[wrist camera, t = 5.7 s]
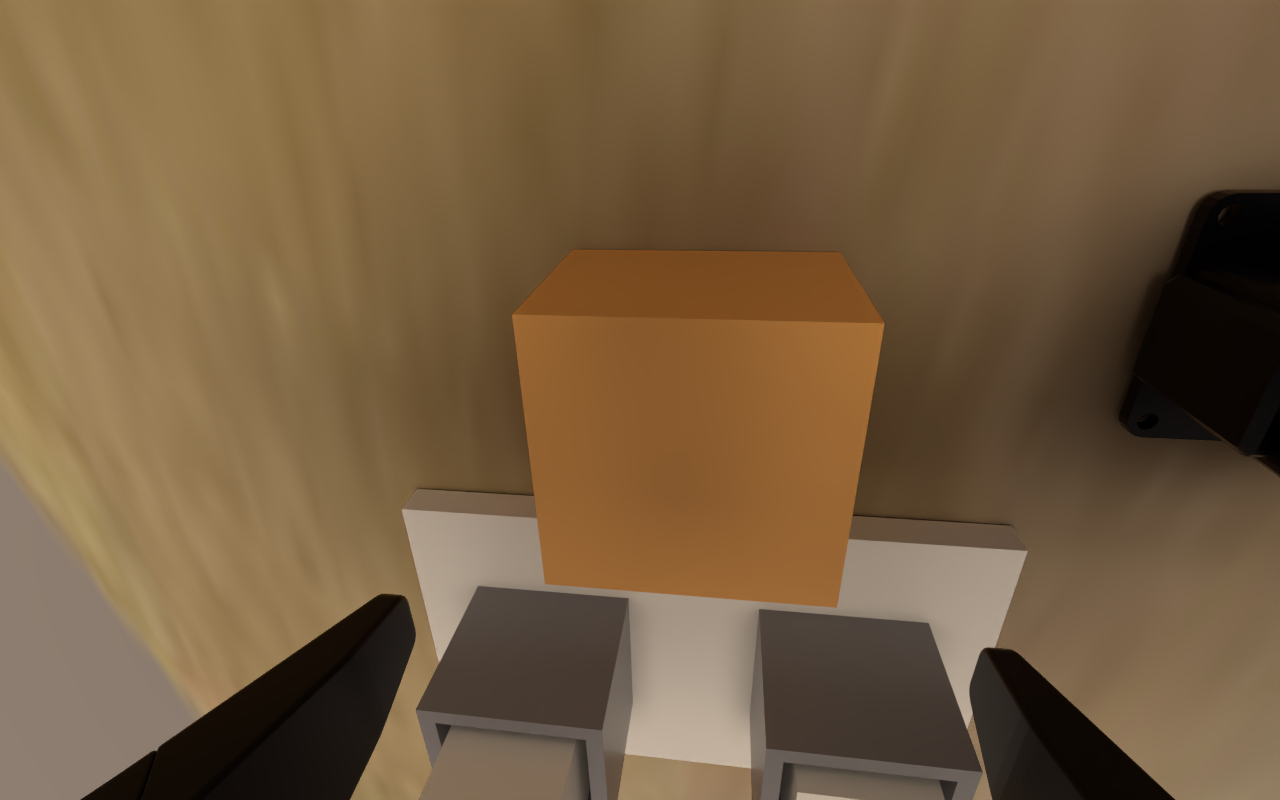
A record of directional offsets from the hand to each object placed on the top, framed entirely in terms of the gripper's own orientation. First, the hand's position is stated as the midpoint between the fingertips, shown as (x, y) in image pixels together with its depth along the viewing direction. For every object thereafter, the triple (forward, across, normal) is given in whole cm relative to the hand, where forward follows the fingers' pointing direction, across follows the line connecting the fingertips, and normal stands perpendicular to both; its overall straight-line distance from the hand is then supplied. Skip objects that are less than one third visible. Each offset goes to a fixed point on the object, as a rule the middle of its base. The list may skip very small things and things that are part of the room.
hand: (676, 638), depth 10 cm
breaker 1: (+6, +5, +11) cm, 14 cm away
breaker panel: (+10, 0, +11) cm, 15 cm away
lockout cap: (+10, 0, 0) cm, 10 cm away
